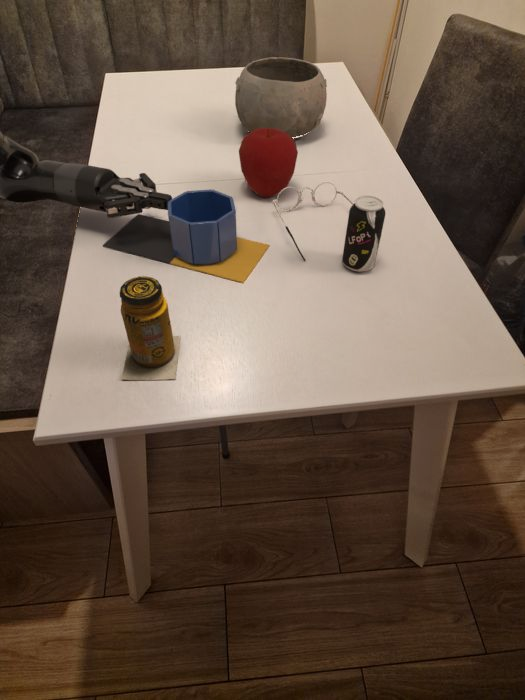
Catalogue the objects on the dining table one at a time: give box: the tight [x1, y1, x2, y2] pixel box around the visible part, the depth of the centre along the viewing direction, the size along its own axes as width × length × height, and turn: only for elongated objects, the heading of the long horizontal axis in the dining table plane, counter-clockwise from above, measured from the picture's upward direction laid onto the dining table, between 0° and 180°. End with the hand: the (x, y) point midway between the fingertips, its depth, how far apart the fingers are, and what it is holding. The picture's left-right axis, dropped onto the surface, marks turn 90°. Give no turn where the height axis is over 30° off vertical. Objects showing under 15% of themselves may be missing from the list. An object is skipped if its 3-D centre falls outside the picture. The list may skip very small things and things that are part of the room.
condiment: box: [119, 275, 181, 381], centre depth 64 cm, size 7×8×12 cm
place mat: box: [102, 213, 271, 284], centre depth 88 cm, size 28×12×1 cm, turn 68°
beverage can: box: [341, 195, 386, 273], centre depth 81 cm, size 6×6×12 cm
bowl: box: [234, 56, 328, 141], centre depth 120 cm, size 23×23×15 cm
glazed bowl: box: [167, 189, 238, 265], centre depth 85 cm, size 11×11×8 cm
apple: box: [238, 128, 299, 198], centre depth 98 cm, size 12×12×13 cm
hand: (170, 202), depth 84 cm, fingers closed
